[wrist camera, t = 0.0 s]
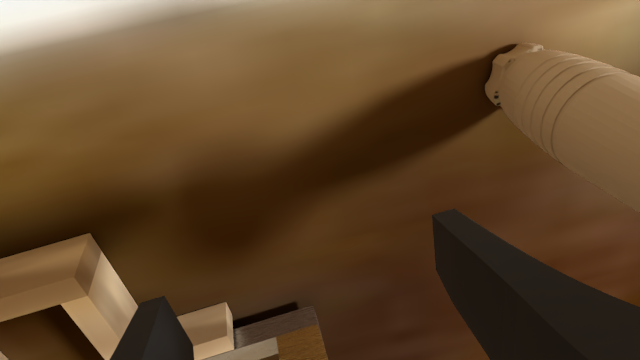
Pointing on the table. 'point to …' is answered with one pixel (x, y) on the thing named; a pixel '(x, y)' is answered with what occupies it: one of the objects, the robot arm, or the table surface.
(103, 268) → the dock
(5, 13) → the table surface
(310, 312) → the pin
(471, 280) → the robot arm
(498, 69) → the handle
